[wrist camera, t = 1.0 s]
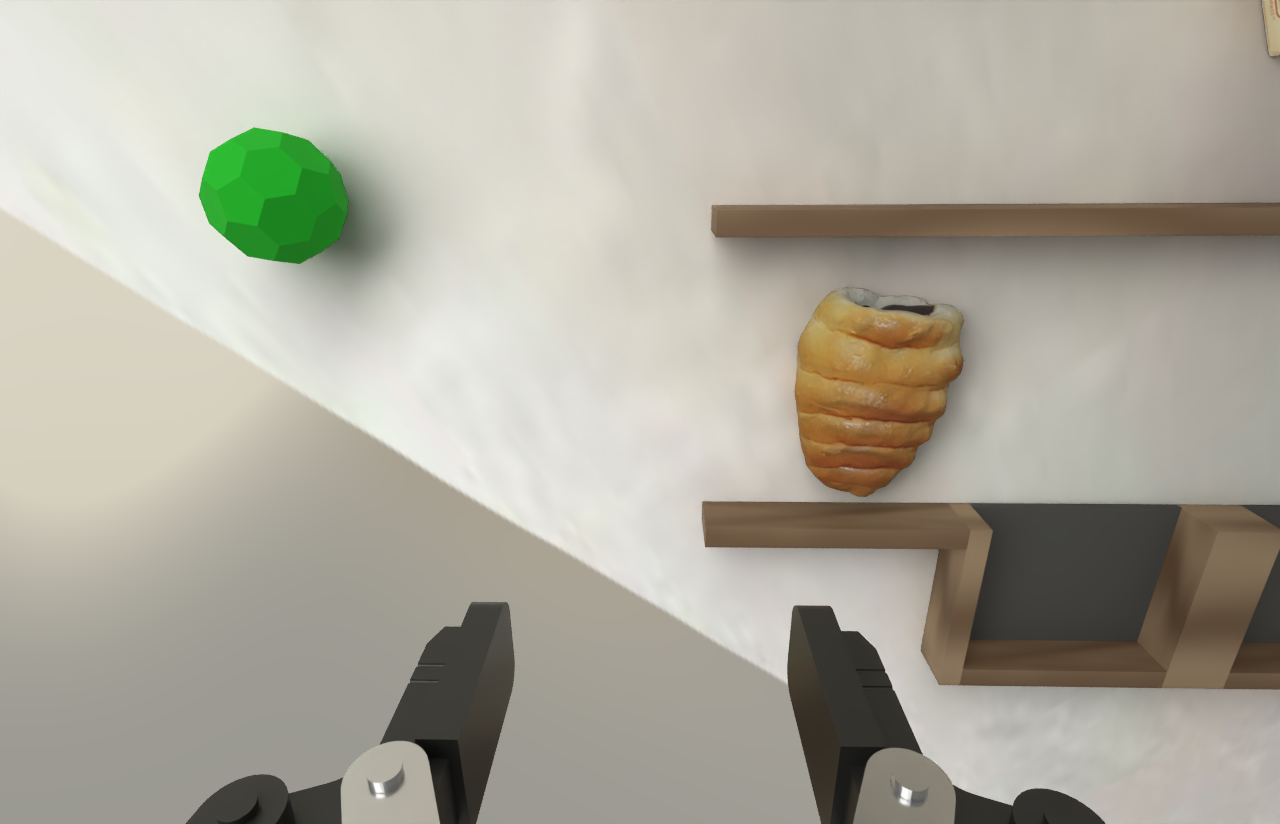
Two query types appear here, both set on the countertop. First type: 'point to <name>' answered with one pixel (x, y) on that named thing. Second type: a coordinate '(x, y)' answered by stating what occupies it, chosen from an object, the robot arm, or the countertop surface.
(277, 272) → the countertop surface
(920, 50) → the countertop surface
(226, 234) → the polyhedron
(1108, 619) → the mats
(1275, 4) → the coffeecake box
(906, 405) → the pastry
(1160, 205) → the lane
